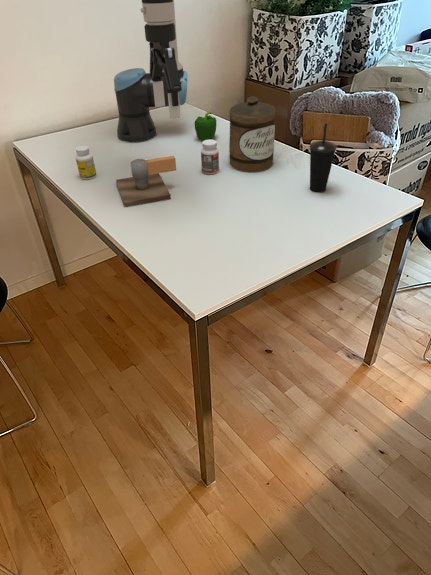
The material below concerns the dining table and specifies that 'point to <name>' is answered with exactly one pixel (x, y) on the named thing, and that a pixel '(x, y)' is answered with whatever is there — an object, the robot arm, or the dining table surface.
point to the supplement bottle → (85, 163)
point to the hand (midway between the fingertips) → (167, 112)
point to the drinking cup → (320, 163)
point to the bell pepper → (205, 127)
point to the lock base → (142, 190)
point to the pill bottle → (210, 157)
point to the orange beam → (152, 166)
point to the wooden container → (252, 135)
